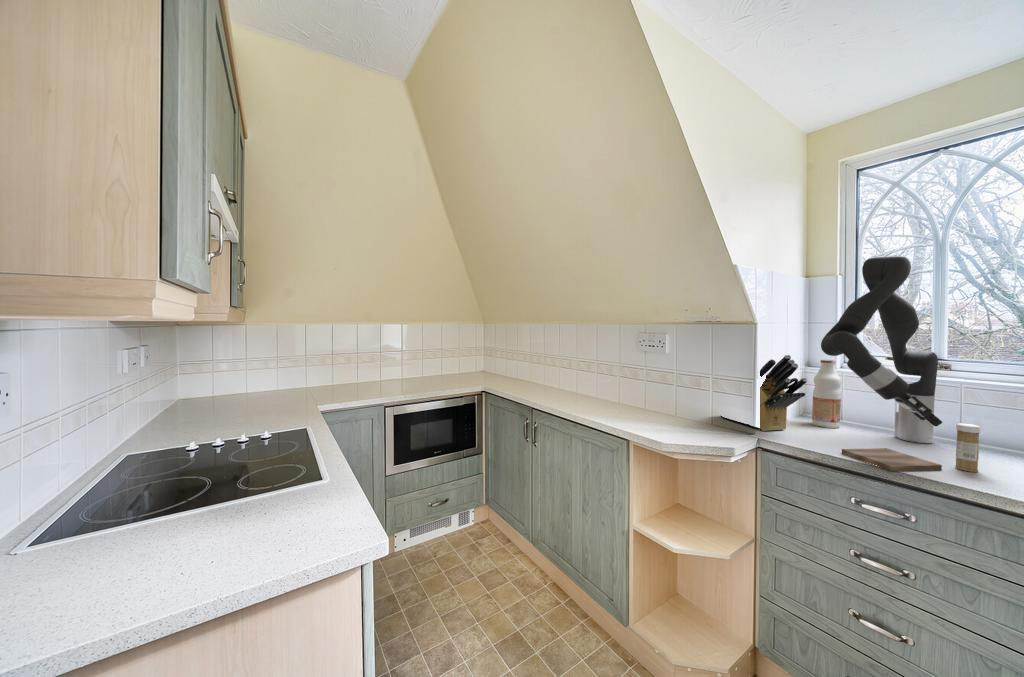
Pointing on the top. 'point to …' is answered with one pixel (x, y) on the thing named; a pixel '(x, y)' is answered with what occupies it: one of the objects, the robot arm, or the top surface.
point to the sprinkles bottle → (967, 447)
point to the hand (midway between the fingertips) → (932, 421)
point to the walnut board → (891, 459)
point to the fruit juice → (827, 396)
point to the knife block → (778, 393)
